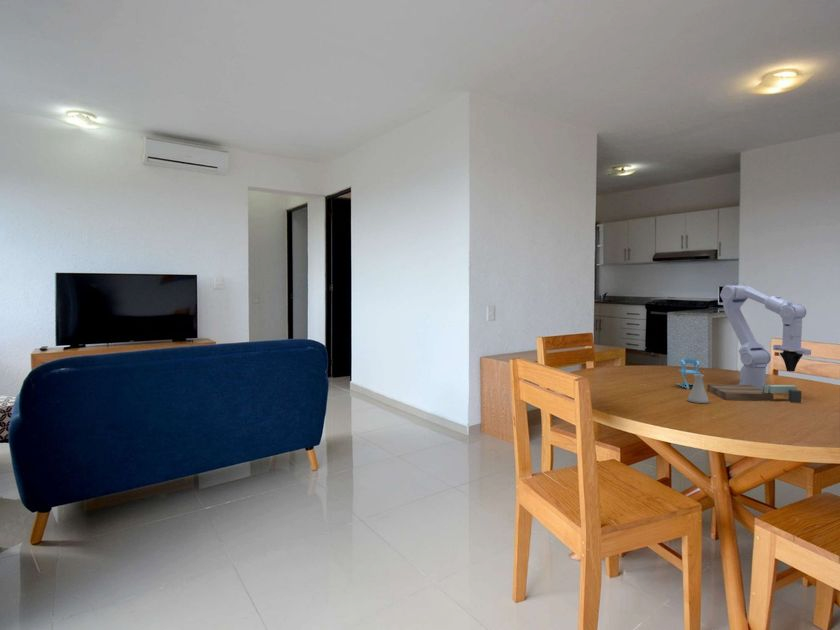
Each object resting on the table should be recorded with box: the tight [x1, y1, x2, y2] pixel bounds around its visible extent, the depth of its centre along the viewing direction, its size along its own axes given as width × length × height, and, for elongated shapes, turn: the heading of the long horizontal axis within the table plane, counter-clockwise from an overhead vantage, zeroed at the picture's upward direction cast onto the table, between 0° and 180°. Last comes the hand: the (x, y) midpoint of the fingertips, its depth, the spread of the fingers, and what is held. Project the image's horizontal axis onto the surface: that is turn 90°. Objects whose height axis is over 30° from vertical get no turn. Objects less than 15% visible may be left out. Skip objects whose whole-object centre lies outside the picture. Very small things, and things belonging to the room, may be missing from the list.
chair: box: [676, 358, 701, 390], centre depth 200 cm, size 8×8×12 cm
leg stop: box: [788, 389, 802, 403], centre depth 174 cm, size 2×3×4 cm, turn 82°
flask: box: [687, 373, 710, 404], centre depth 177 cm, size 7×7×10 cm
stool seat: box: [707, 383, 775, 402], centre depth 186 cm, size 16×16×2 cm
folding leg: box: [761, 384, 798, 394], centre depth 178 cm, size 11×3×2 cm, turn 87°
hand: (790, 371), depth 184 cm, fingers closed
